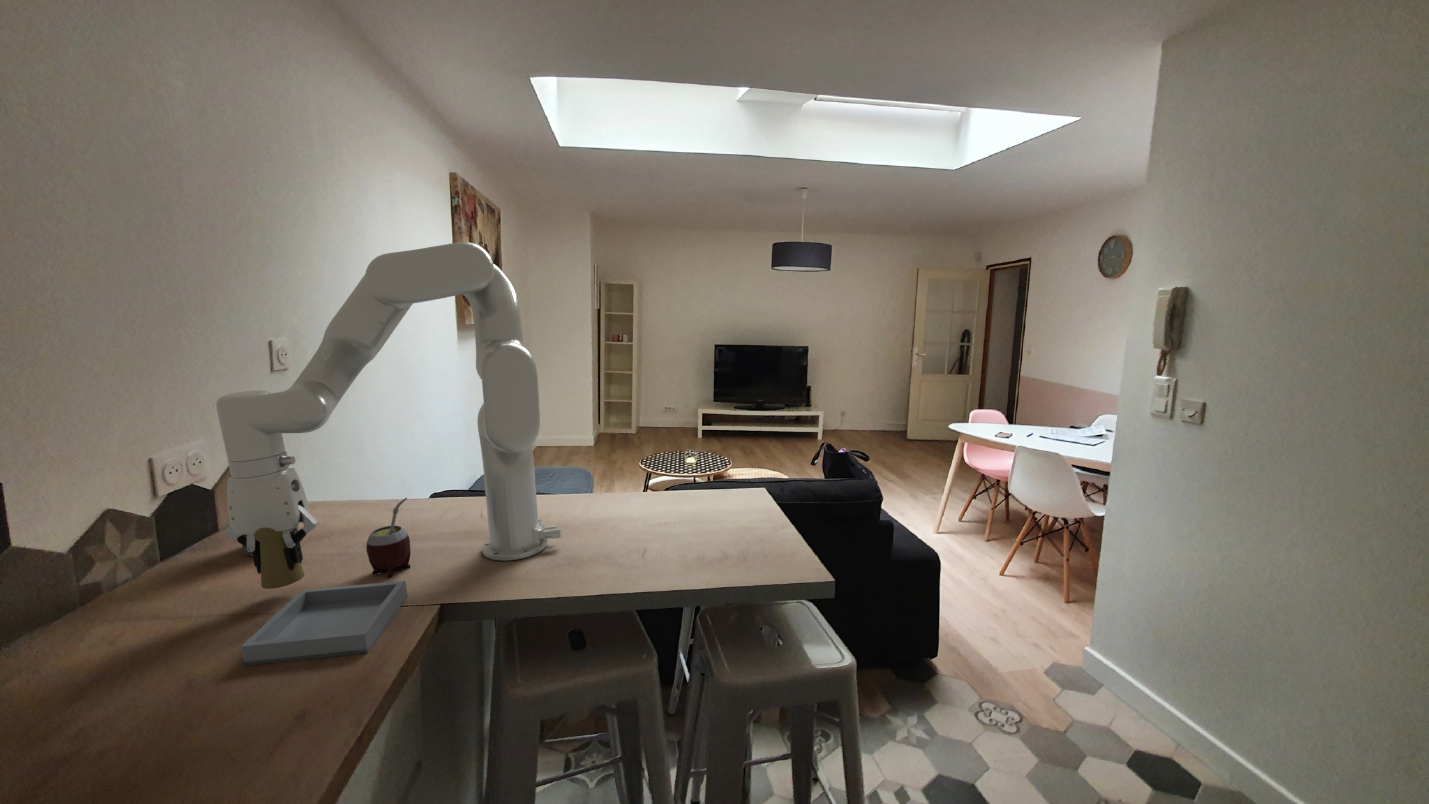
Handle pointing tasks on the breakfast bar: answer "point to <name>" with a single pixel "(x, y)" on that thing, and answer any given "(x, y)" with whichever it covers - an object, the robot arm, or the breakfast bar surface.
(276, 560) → the cork
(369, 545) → the mate gourd
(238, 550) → the breakfast bar surface
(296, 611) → the tray
